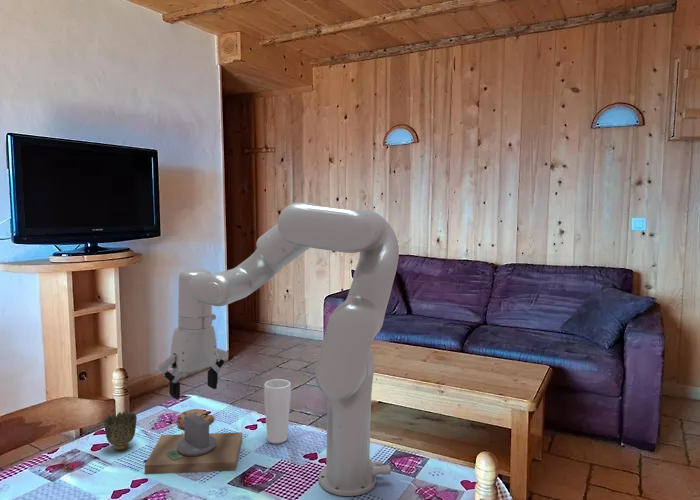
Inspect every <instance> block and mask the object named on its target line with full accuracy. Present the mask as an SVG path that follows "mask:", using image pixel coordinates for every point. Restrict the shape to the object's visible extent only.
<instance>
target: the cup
mask: <svg viewBox="0 0 700 500" xmlns="http://www.w3.org/2000/svg"><path fill="white" fill-rule="evenodd" d="M137 419H138V417H137V414H136V413H135V412H130V411H129V412H128V413H126V412H125V411H123V412H121V411H118V412H117V414H116V413H115V412H114V413H113V414H112V415H110V414H107V416H106V417H104V418H103V424H104V433H105V436H106V437H105V438H106V440H107V442H108V443H109V444H111V445H112V448H113V450H114V451H116V452H122V451H126V450H127V449H128V448H129V446H130V442H131V441H132V440H133V439H134V437H135V434H136V428H137Z"/></svg>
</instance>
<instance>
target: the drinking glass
mask: <svg viewBox="0 0 700 500" xmlns="http://www.w3.org/2000/svg"><path fill="white" fill-rule="evenodd" d="M291 385H292V384H291V381H289V380H287V379H282V378H274V379H270V380H267V381H266V382H264V385H263V386H264V389H263V391H264V392H263V401H264V402H263V403H264V413H265V426H266V427H265V428H266V439H267V441H268V442H269V443H271V444H282V443H284V442H286V441H287V440H288V435H289V434H288V432H289V431H288V430H289V419H290V409H291V399H292V398H291V397H292V395H291V394H292V388H291V387H292V386H291Z"/></svg>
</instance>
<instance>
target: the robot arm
mask: <svg viewBox="0 0 700 500" xmlns="http://www.w3.org/2000/svg"><path fill="white" fill-rule="evenodd" d="M398 241H399V240H398V238H397V236H396V232H395V231H394V229H393V227H392V226H391V224H390V223H389V222H388V221H387V220H386V219H385V218H384V217H383V216H382V215H380V214H379V213H377V212H375V211H373V210H370V209H363V208H362V209H345V208H336V207H335V208H334V207H327V206H326V207H325V206H322V205H320V204H317V203H315V202H294V203H292V204H289V205H287V206H286V207H284V209H283V210H282V211H281V212H280V214H279V216H278V219H277V223H276V224H274V226H273V227H271V228H270V229H269V230H267V231H266V232H264V233H263V234H262V235H260V237H258V239H257V241H256V242H255V243H256V248H255V251H254V252H253V253H252V254H250V256H249V257H247V258H246V259H245V260H243V261H242V262H241V263H239V264H238V265H237V266H235V267H233V268H231V269H227V270H223V271H220V272H219V271H218V272H214V273H211V271H209V270H206V269H204V268H203V269H202V268H190V269H184V270H181V272H180V273H179V276H178V303H177V304H178V311H177V312H178V313H177V315H178V316H177V320H178V321H177V323H178V324H177V325H178V326H177V327H175V328H174V331H173V335H172V337H171V338H172V339H171V346H170V353H169V354H170V356H168V357H167V358H166V359H165V360H164V361H162V362H161V363H160V364H158V366H157V367H158V369H159V370H160V373H161V374H162V376H163V377H165V379H166V380H167V381H169V392H168V393H169V395H170V396H171V397H172V398H173V399H175V400H180V398H181V382H180V381H179V379H180V378H181V377H182V375H183V374H186V373H191V372H195V371H200V370H205V369H208V370H207V387H209V388H211V389H213V390H216V389H217V388H218V383H219V381H218V376H219V374H218V373H220V371H221V368H222V367H223V366H224V364H225V360H226V358H227V356H228V352H227V351H225V350H224V349H220V348H217V347H218V346H217V338H216V336H217V335H216V332H215V331H216V330H215V327H214V325H212V324H213V321H215V320H216V319H217V317H216V314H213V311H212V310H213V306H214V307H224V306H226V305H227V306H228V305H230V304H233V303H234V302H236V301H240V300H242V299H245V298H248V296H249V295H251V294H252V293H254V292H255V291H257V290H258V289H260V288H261V287H262V286H263V285H265V284H266V283H268V282H269V281H270V280H271V279H273V278H274V277H275V276H276V275H277V274H278V273H280V272H281V270H282V269H283V268H284V267H286V266H287V265H288V264H290V263H291V262H293V261H294V260H295V259H297V258H298V257H299V256H301V255H303V253H305V252H306V251H308V250H309V249H310V248H311V249H316V250H317V249H318V250H325V251H333V252H337V253H346V254H356V253H359V258H358V262H357V263H356V267H355V270H354V273H353V277H352V282H351V284H350V287H349V288H350V289H349V291H348V294H347V297H346V299H345V300H344V301H343V302H342V303H340V304H339V305H337V307H336V308H335V309H334V310H333V312H332V313H331V315H330V317H329V319H328V323H327V325H326V329H325V333H324V336H323V340H322V344H321V346H320V347H321V348H320V351H319V354H318V358H317V362H316V366H315V373H314V374H315V381H316V384H317V387H318V389H319V391H320V392H321V393H322V394H323V395H324V397H326V398H327V404H326V405H327V408H326V462H325V463H326V464H325V465H326V466H325V467H324V468H322V470H320V473H319V475H318V482H319V484H320V486H321V488H323V490H324V491H327V492H328V493H330V494H332V495H336V496H343V497H353V496H360V495H363V494H366V493H368V492H369V491H371V490H372V489H374V487H375V486H376V483H377V475H384V476H385V475H392V474H391V473H392V472H391V471H392V470H391V464H385V465H384V461H383V460H376V461H373V460H372V459H371V456H370V452H371V449H370V448H371V418H372V417H371V413H372V392H373V391H372V390H373V383H374V372H375V360H374V355H373V352H372V350H371V348H372V344H373V341H374V338H375V337H376V336H377V335H378V334H379V332H380V331H381V329H382V327H383V325H384V320H385V315H386V312H387V311H386V310H387V308H388V304H389V300H390V296H391V293H392V289H393V285H394V281H395V278H396V277H395V276H396V273H397V269H398V265H399V256H400V247H399V246H400V245H399V243H398ZM169 367H170V368H171V371H169V369H168V368H169Z"/></svg>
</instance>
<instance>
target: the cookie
mask: <svg viewBox="0 0 700 500" xmlns="http://www.w3.org/2000/svg"><path fill="white" fill-rule="evenodd" d="M192 413H194V414H196V415H198V416H200V417H201V418H203V419H205V420H207V421H208V422H209V426H210V425H212V423H214V420H215V417H214V415H213V414H209V413H208V412H207V411H206V410H203V409H202V408H201V409H200V408H193V409H188V410H185V411H183V412H180V414H178V416H177V420H178V422H177V427H178V428H179V429H183V430H184V416H186V415H189V414H192Z"/></svg>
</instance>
